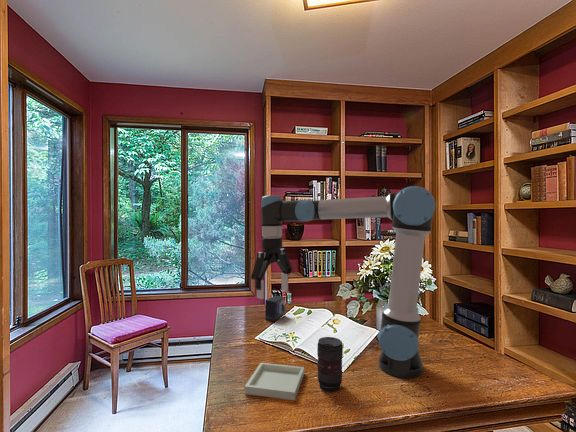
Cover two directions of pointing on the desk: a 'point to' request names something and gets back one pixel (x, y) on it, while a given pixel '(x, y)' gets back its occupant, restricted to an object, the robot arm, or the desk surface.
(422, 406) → the desk surface
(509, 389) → the desk surface
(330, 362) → the camera lens
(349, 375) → the desk surface
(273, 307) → the small box
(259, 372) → the tray
